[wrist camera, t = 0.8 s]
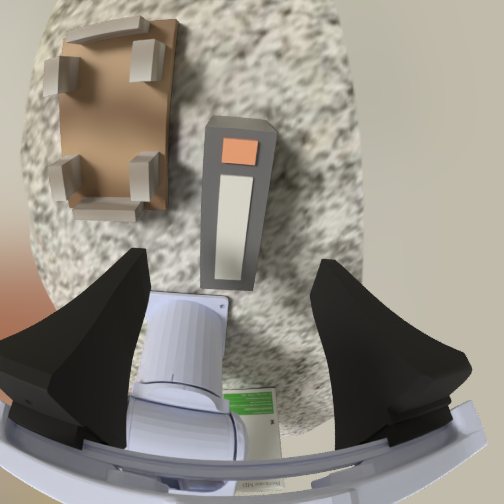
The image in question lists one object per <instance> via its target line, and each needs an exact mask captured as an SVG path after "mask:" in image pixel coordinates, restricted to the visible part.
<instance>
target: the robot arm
mask: <svg viewBox="0 0 504 504" xmlns="http://www.w3.org/2000/svg"><path fill="white" fill-rule="evenodd" d="M310 299H311V305H312V311H313V316H314V319H315V323H316V326H317V329H318V333H319V336H320V339H321V342H322V346H323V349H324V352H325V356H326V359H327V363H328V368H329V374H330V380H331V387H332V395H333V404H334V417H335V451H330V452H325V453H319V454H313V455H306V456H298V457H289V458H279V459H266V460H248V452H249V440H248V432H247V428H246V426H245V423H244V422H243V420H242V419H241V417H240V416H239V415H238V413H236V412H233V411H230V408H229V400H227V399H223V393H222V357H223V356H224V351H225V339H226V327H227V315H228V303H229V300H228V298H227V297H225V296H211V295H195V294H180V293H166V292H154V291H151V282H150V276H149V269H148V261H147V253H146V249H144V248H131V249H130V250H129V251H128V252H127V253H126V254H124V255H123V256H122V257H121V258H120V259H119V260H118V261H117V262H116V263H115V264H114V265H113V266H112V267H111V268H109V269H108V270H107V271H106V272H105V273H104V274H103V275H102V276H101V277H100V278H98V279H97V280H96V281H95V282H94V283H93V284H92V285H90V286H89V287H88V288H87V289H86V290H85V291H83V292H82V293H81V294H80V295H78V296H77V297H76V298H74V299H73V300H72V301H70V302H69V303H68V304H66V305H65V306H64V307H62V308H60V309H59V310H57V311H56V312H54V313H53V314H51V315H50V316H48V317H47V318H45V319H43V320H42V321H40V322H38V323H36V324H35V325H33V326H31V327H29V328H27V329H25V330H23V331H21V332H19V333H16V334H14V335H12V336H9V337H7V338H5V339H3V340H0V389H1V390H3V392H5V393H6V394H7V395H8V396H9V397H10V398H11V399H12V400H13V402H12V406H10V405H8V404H7V403H5V402H3V401H1V400H0V466H1V467H2V468H4V469H5V470H6V471H8V472H9V473H11V474H13V475H14V476H15V477H17V478H19V479H20V480H22V481H23V482H25V483H27V484H28V485H30V486H32V487H33V488H35V489H37V490H39V491H40V492H42V493H44V494H46V495H48V496H50V497H51V498H54V499H56V500H57V501H59V502H61V503H64V504H396V503H398V502H399V501H402V500H403V499H405V498H407V497H409V496H411V495H413V494H415V493H417V492H418V491H420V490H422V489H423V488H425V487H427V486H429V485H430V484H432V483H434V482H435V481H437V480H438V479H440V478H441V477H443V476H444V475H446V474H447V473H449V472H450V471H452V470H453V469H454V468H456V467H457V466H459V465H460V464H461V463H463V462H464V461H466V460H467V459H468V458H470V457H471V456H473V455H474V454H475V453H477V452H478V451H479V450H481V449H482V448H484V447H485V446H486V445H487V444H488V442H487V439H486V436H485V433H484V430H483V428H482V425H481V422H480V420H479V417H478V415H477V412H476V410H475V407H474V405H473V403H472V400H469V401H467V402H464V403H462V404H461V405H458V406H456V407H454V408H453V409H451V410H450V409H449V407H448V405H449V404H450V403H451V398H450V396H449V395H450V394H451V393H452V392H454V391H455V390H456V389H457V388H458V387H459V386H460V385H461V384H463V383H464V382H465V380H467V378H468V377H469V376H470V374H471V372H472V367H471V365H470V363H469V361H468V359H467V357H466V355H465V354H464V353H463V352H461V351H459V350H456V349H454V348H452V347H449V346H447V345H445V344H443V343H441V342H439V341H437V340H435V339H433V338H431V337H430V336H428V335H426V334H424V333H422V332H421V331H420V330H418V329H416V328H415V327H413V326H412V325H410V324H409V323H407V322H406V321H404V320H403V319H402V318H400V317H399V316H398V315H396V314H395V313H394V312H392V311H391V310H390V309H389V308H387V307H386V306H385V305H384V304H383V303H382V302H380V301H379V300H378V299H377V298H376V297H375V296H374V295H373V294H371V293H370V292H369V291H368V290H367V289H366V288H365V287H364V286H363V285H362V284H361V283H360V282H359V281H358V280H357V279H355V278H354V277H353V276H352V275H351V274H350V273H349V272H348V271H347V270H346V269H345V268H344V267H343V266H342V265H341V264H339V263H338V262H337V261H336V260H331V259H322V260H321V263H320V266H319V269H318V272H317V275H316V278H315V281H314V284H313V287H312V290H311V293H310ZM222 305H223V306H222ZM145 315H146V320H147V324H148V329H147V333H146V337H145V342H144V346H143V351H142V355H141V360H140V365H139V370H138V375H137V380H136V382H134V383H133V386H132V391H131V397H130V393H128V389H129V380H130V372H131V365H132V359H133V355H134V351H135V347H136V344H137V340H138V337H139V334H140V330H141V327H142V324H143V320H144V317H145ZM352 465H355V466H354V467H352V468H349V469H345V470H342V471H338V472H335V473H331V474H330V475H328V476H326V477H324V478H322V479H318V480H315V481H312V483H311V486H312V489H310V490H303V491H297V492H289V493H280V494H269V495H255V496H234V494H235V493H236V490H237V486H238V482H239V481H247V480H266V479H278V478H287V477H295V476H302V475H309V474H315V473H320V472H326V471H331V470H335V469H340V468H344V467H348V466H352Z"/></svg>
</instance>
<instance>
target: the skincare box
mask: <svg viewBox="0 0 504 504" xmlns="http://www.w3.org/2000/svg"><path fill="white" fill-rule="evenodd" d="M222 393H223V399H227V400H229V408H230V411H233V412H236V413H238V415H239V416H240V417H241V419H242V420H243V422H244V423H245V426H246V428H247V432H248V440H249V452H248V460H266V459H279V458H282V453H281V442H280V431H279V421H278V411H277V401H276V391H275V388H263V389H244V390H222ZM283 488H284V478H278V479H266V480H247V481H239V482H238V486H237V490H236V492H265V491H278V490H282V489H283Z"/></svg>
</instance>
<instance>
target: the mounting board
mask: <svg viewBox="0 0 504 504" xmlns="http://www.w3.org/2000/svg"><path fill="white" fill-rule="evenodd" d="M178 26H179V22H178V21H177V19H168V20H155V21H147V20H146V19H144V18H143V17H141V16H134V17H127V18H121V19H116V20H110V21H106V22H101V23H96V24H92V25H88V26H84V27H80V28H77V29H73V30H70V31H67V35H66V38H64V39H63V47H62V56H58V57H55V58H52V59H48V60H45V63H44V80H43V97H46V96H50V95H55V94H60V97H59V107H60V135H61V148H62V158H61V159H59V160H58V161H56V162H55V163H53V164H51V165H50V166H48V173H49V180H50V186H51V192H52V198H53V201H67V200H68V201H69V207H70V208H73V209H72V211H73V216H74V220H96V221H125V222H136V221H137V219H138V217H139V216H140V214H141V212H142V211H143V209H147V210H166V209H167V206H168V204H169V202H168V151H169V122H170V104H171V89H172V78H173V67H174V58H175V49H176V41H177V33H178Z"/></svg>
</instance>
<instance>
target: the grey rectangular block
mask: <svg viewBox="0 0 504 504" xmlns="http://www.w3.org/2000/svg"><path fill="white" fill-rule="evenodd" d="M276 139H277V132H276V131H275V130H274V128H273V127H272V126H271V125H270V124H269V123H268V122H267V121H266V120H261V119H251V118H240V117H228V116H212V117H211V119H210V120H209V122H208V124H207V125H206V128H205V142H204V158H203V177H202V202H201V242H200V288H202V289H221V290H243V291H253V287H254V281H255V275H256V269H257V262H258V256H259V250H260V243H261V237H262V231H263V224H264V218H265V211H266V205H267V199H268V192H269V186H270V179H271V173H272V166H273V159H274V153H275V146H276Z"/></svg>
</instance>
